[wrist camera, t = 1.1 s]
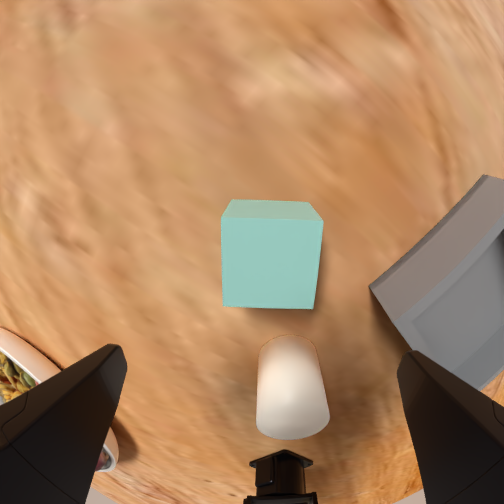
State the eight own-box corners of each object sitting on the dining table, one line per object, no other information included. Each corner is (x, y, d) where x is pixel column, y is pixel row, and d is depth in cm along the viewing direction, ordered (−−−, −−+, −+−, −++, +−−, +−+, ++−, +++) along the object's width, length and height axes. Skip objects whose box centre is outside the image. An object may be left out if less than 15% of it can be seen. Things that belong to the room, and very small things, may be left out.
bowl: (13, 407, 34) (-2, 430, 27) (-38, 287, 24) (-69, 311, 16) (135, 468, 36) (125, 500, 28) (109, 363, 25) (78, 417, 18)
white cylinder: (327, 356, 23) (343, 419, 16) (284, 384, 24) (287, 446, 17) (291, 324, 21) (300, 390, 15) (246, 356, 23) (240, 421, 16)
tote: (520, 302, 20) (543, 324, 16) (437, 381, 24) (454, 411, 19) (483, 174, 16) (524, 185, 11) (368, 286, 20) (392, 322, 15)
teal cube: (308, 202, 18) (323, 221, 13) (302, 271, 20) (313, 308, 15) (231, 199, 18) (220, 217, 14) (232, 269, 20) (222, 306, 15)
